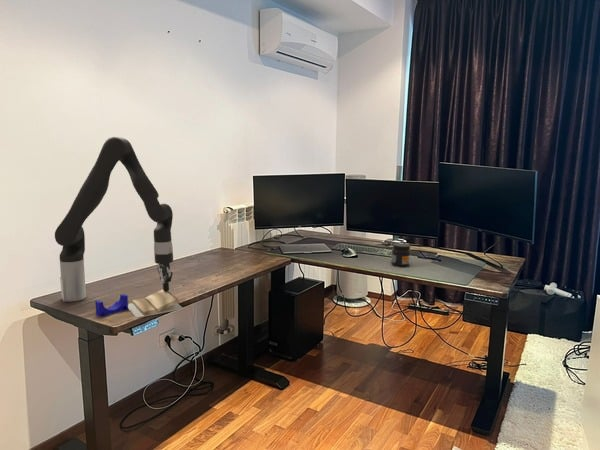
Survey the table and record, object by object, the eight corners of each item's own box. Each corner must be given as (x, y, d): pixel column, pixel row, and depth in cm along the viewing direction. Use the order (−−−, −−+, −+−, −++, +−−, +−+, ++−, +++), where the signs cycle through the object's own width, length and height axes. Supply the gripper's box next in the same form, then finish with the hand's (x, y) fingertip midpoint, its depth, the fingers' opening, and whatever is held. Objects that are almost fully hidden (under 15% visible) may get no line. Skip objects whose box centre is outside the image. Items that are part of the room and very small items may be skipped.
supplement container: (413, 266, 265) (414, 246, 263) (398, 268, 261) (399, 247, 259) (402, 262, 275) (403, 242, 273) (387, 263, 271) (388, 243, 269)
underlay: (136, 318, 181) (136, 317, 181) (124, 305, 195) (124, 304, 195) (183, 309, 192) (183, 308, 192) (169, 297, 206) (169, 296, 206)
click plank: (158, 312, 186) (157, 308, 186) (146, 300, 199) (145, 297, 199) (178, 301, 191) (177, 298, 190) (165, 291, 204) (164, 288, 203)
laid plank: (143, 315, 183) (143, 311, 183) (132, 303, 196) (132, 300, 196) (156, 313, 186) (156, 309, 186) (144, 301, 199) (144, 297, 199)
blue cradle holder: (122, 306, 194) (121, 293, 193) (128, 309, 191) (127, 295, 190) (94, 314, 184) (93, 300, 183) (99, 317, 182) (99, 302, 181)
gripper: (149, 249, 200) (152, 288, 203) (159, 255, 189) (162, 296, 193) (166, 247, 204) (169, 285, 207) (177, 253, 194) (180, 293, 197)
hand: (166, 290), depth 200 cm, fingers closed
